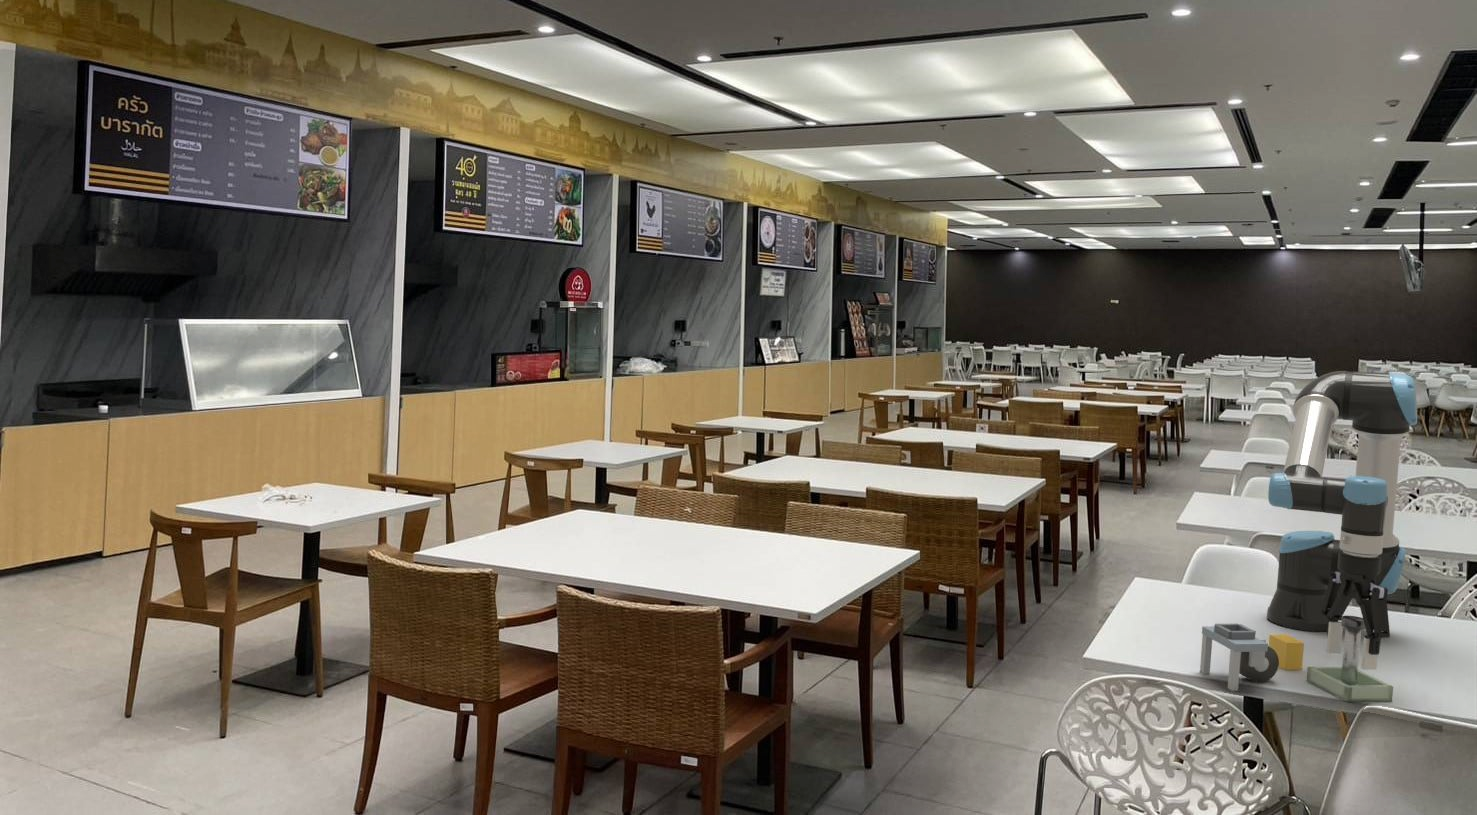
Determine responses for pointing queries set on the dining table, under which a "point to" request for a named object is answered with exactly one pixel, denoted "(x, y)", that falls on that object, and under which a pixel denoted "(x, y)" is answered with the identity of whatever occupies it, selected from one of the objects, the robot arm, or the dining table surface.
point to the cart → (1240, 653)
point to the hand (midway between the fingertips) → (1350, 660)
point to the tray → (1361, 692)
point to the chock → (1287, 651)
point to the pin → (1351, 648)
